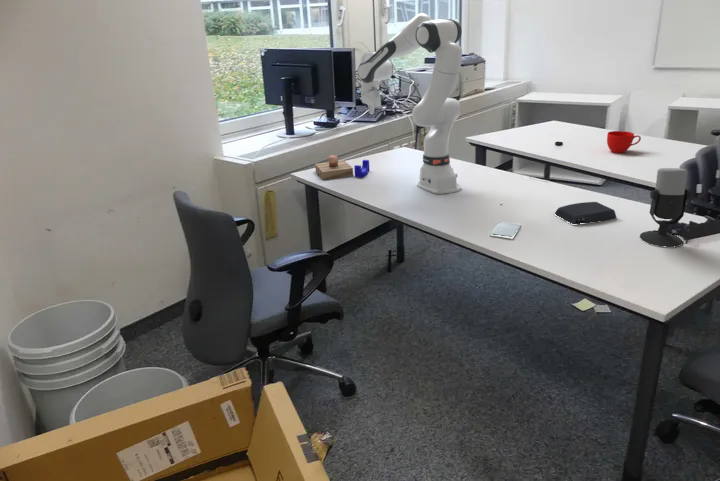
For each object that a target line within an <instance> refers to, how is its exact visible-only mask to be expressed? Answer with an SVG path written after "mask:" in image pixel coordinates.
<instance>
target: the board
mask: <svg viewBox="0 0 720 481" xmlns="http://www.w3.org/2000/svg"><path fill="white" fill-rule="evenodd" d="M314 166H315V172H316V174H319V175H320V176H319V175H318V176H319V177H320V178H321V179H322V180H323V179H324V180H330V179H329V178H331V179H337V178H338V179H339V178H344V177H352V176H354V168H353V167H352V166H351V165H350V164H349V163H348V162H346V160H338V166H337V167H329V161H328V162H322V163H321V162H319V163H315V165H314Z"/></svg>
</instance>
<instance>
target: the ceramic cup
mask: <svg viewBox="0 0 720 481" xmlns="http://www.w3.org/2000/svg"><path fill="white" fill-rule="evenodd" d="M636 138H638V140H637V141H636V142H634V139H636ZM641 139H642V138H641V136H640V135H639V134H638V135H635V133H634V132H630V131H623V130H613V131H608V132H607V136H606V144H607V148H608V149H609V150H610V152H611V153H615V154H624V153H625V152H627V150H629V149H630V147H632V146H635V145H637V144H638V143H640V142H641Z"/></svg>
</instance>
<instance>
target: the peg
mask: <svg viewBox="0 0 720 481" xmlns="http://www.w3.org/2000/svg"><path fill="white" fill-rule="evenodd" d="M338 161H339V160H338V155H334V154H333V155H329V156H328V162H329V167H337V166H338Z"/></svg>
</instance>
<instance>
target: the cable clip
mask: <svg viewBox="0 0 720 481" xmlns="http://www.w3.org/2000/svg"><path fill="white" fill-rule="evenodd" d="M361 164H362V165H358V164H355V165H354V168H353V170H354V178H363V179H364V178H365V177H366V176H367V175H368V173H369V172H370V160H369V159H363V160H362V163H361Z"/></svg>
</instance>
